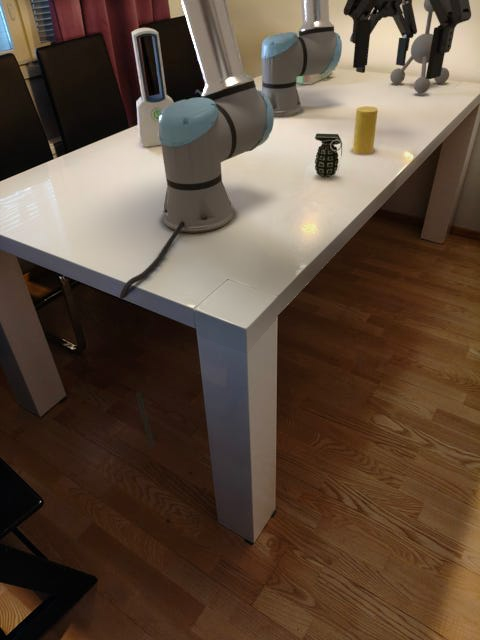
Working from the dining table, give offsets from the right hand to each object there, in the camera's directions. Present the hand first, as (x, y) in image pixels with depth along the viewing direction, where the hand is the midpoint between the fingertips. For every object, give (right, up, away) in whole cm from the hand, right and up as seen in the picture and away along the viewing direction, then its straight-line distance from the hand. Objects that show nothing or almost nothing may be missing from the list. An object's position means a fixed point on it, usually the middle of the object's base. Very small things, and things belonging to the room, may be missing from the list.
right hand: (380, 68), depth 132 cm
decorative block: (-10, +35, +76) cm, 84 cm away
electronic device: (-63, -13, +18) cm, 67 cm away
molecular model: (+33, +22, +56) cm, 68 cm away
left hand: (-14, -29, -55) cm, 64 cm away
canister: (-4, -21, +3) cm, 22 cm away
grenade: (-16, -32, -10) cm, 38 cm away
